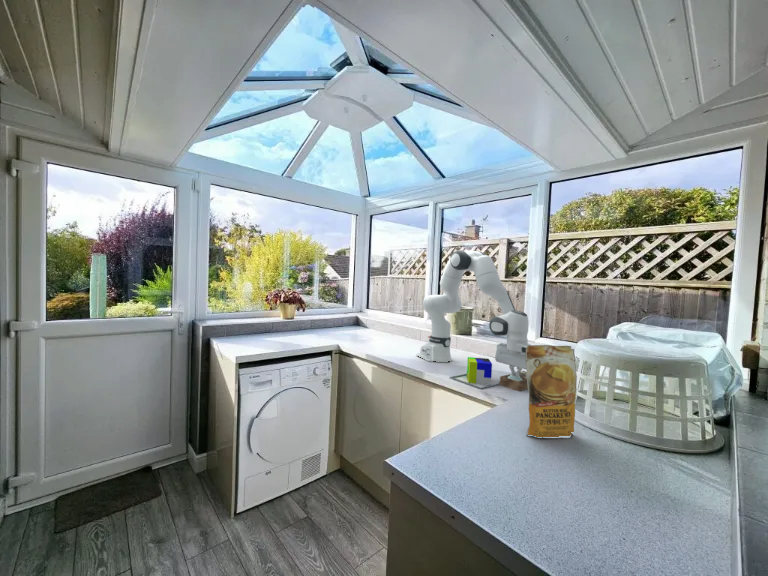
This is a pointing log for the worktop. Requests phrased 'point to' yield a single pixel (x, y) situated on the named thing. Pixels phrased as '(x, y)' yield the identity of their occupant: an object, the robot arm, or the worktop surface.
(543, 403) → the pancake mix bag
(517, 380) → the dome button
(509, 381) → the brown wooden box
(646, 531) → the worktop surface
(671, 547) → the worktop surface
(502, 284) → the robot arm
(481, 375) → the puzzle toy
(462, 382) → the frame
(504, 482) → the worktop surface
